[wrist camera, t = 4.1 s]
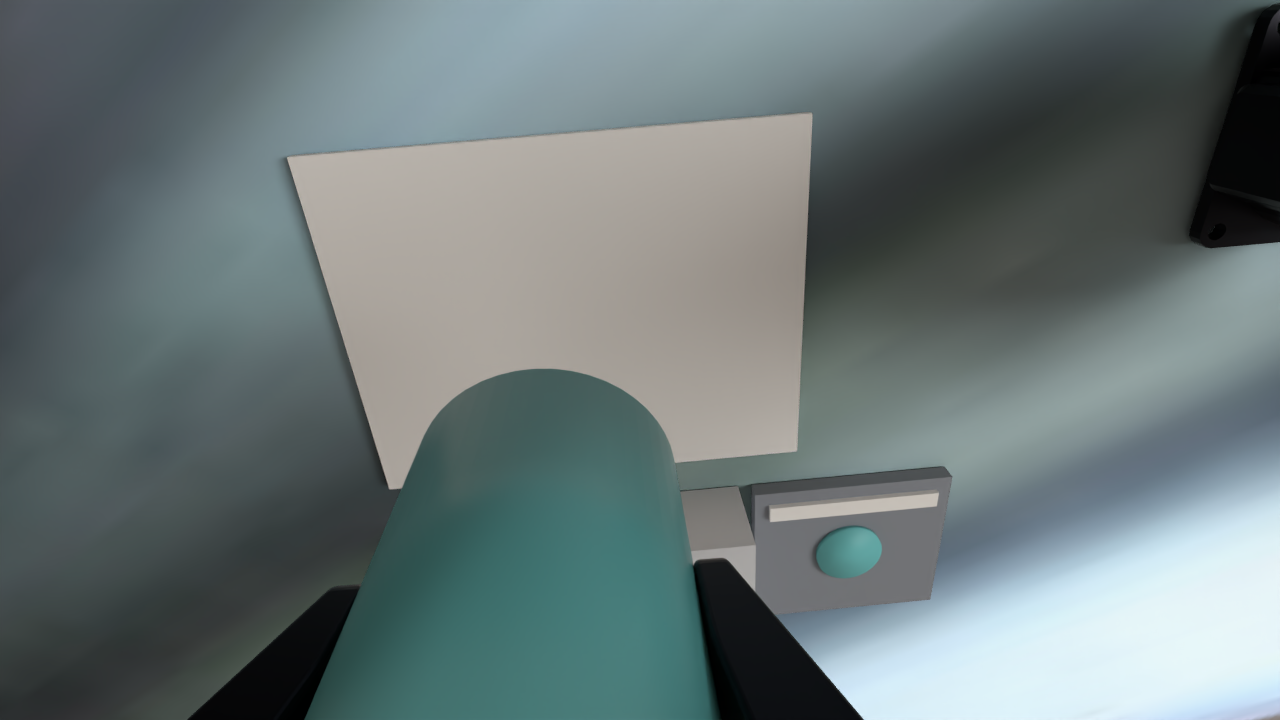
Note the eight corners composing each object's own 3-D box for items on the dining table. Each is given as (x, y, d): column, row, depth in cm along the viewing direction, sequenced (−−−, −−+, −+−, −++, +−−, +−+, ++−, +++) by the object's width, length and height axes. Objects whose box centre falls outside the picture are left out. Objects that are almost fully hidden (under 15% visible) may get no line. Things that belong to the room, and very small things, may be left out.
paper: (809, 112, 18) (812, 113, 18) (794, 446, 23) (796, 451, 23) (291, 155, 18) (286, 157, 17) (391, 483, 23) (389, 489, 22)
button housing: (737, 486, 23) (755, 544, 21) (738, 672, 28) (753, 740, 25) (458, 512, 23) (440, 575, 21) (505, 696, 28) (495, 766, 25)
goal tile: (944, 466, 24) (955, 480, 23) (923, 587, 26) (932, 603, 26) (751, 484, 23) (756, 499, 23) (750, 604, 26) (755, 620, 26)
